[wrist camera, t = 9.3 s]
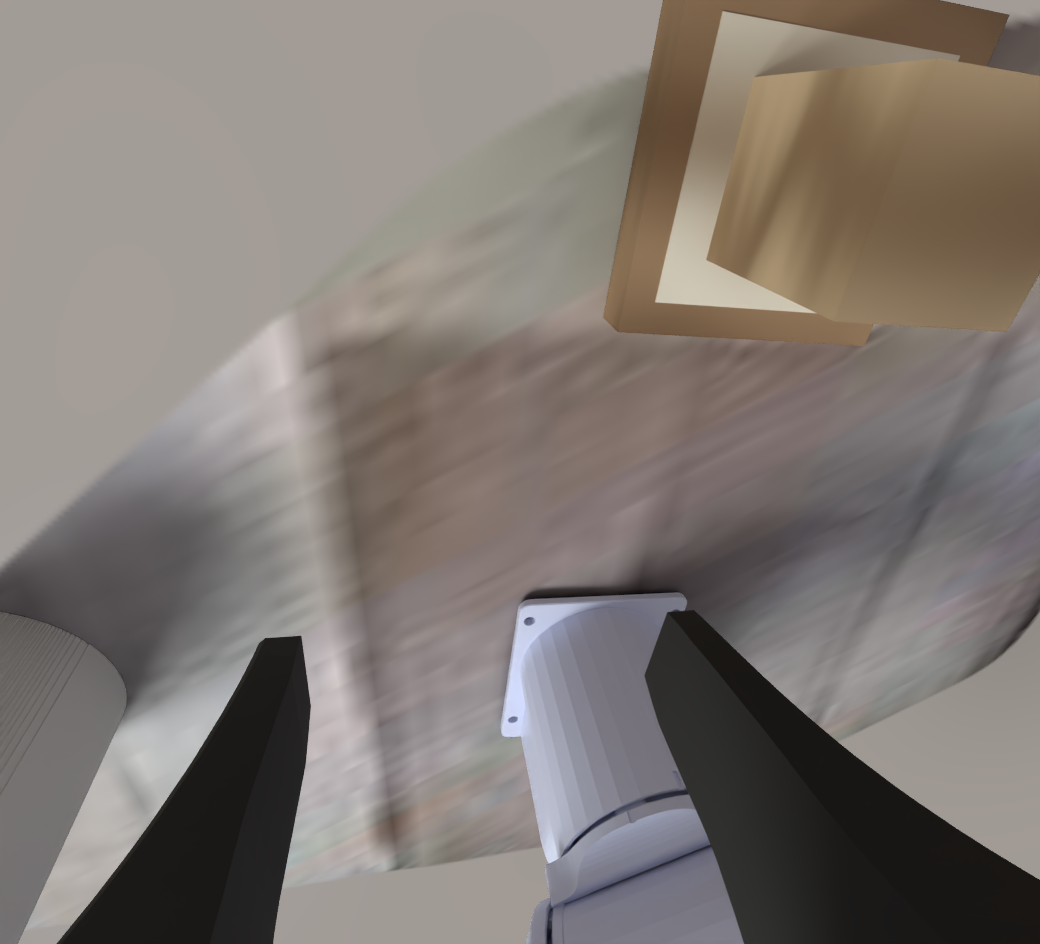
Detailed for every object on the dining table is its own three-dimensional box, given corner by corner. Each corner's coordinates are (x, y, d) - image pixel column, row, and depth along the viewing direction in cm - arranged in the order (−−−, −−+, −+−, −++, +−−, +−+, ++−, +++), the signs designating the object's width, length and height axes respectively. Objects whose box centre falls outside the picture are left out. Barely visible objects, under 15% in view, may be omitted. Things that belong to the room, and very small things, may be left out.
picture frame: (836, 331, 21) (865, 346, 19) (603, 317, 19) (618, 332, 18) (962, 22, 16) (1011, 14, 15) (670, -38, 14) (697, -52, 13)
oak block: (837, 270, 18) (1007, 332, 13) (705, 259, 17) (834, 321, 12) (901, 99, 15) (1141, 93, 10) (754, 76, 15) (938, 58, 10)
